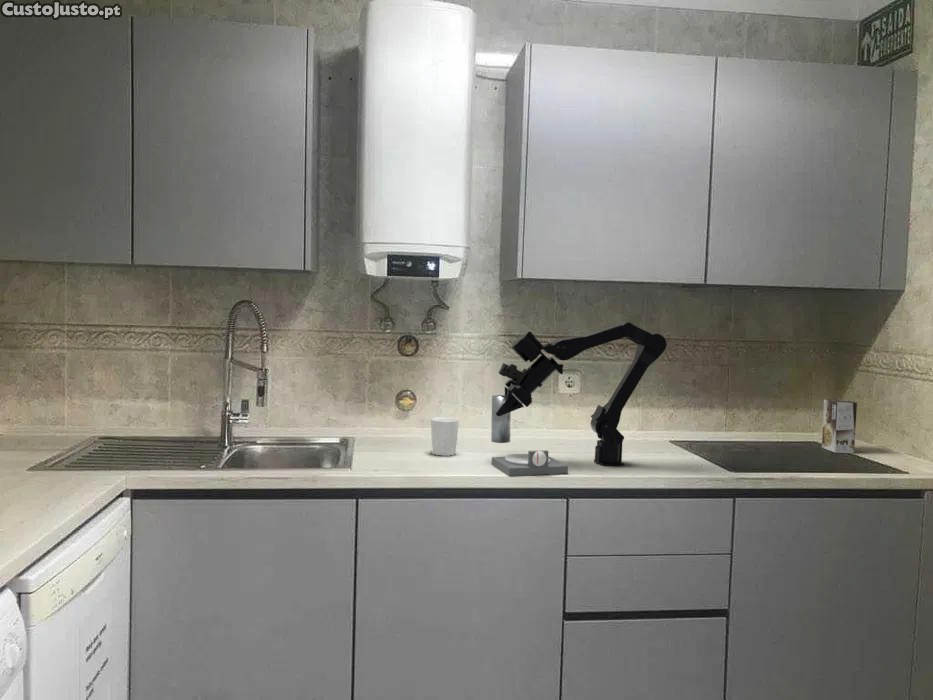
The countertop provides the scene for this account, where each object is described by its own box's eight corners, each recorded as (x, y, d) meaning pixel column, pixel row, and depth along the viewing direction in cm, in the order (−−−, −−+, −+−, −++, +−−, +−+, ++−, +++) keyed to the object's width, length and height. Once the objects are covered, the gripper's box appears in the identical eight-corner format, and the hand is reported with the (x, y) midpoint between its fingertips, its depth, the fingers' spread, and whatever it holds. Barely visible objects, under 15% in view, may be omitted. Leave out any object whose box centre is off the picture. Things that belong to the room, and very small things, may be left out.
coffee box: (855, 453, 228) (858, 402, 227) (834, 453, 228) (837, 401, 227) (840, 448, 237) (843, 398, 236) (820, 447, 237) (823, 398, 236)
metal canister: (505, 439, 204) (506, 394, 203) (513, 442, 199) (513, 396, 198) (488, 439, 202) (489, 394, 202) (495, 443, 198) (496, 397, 197)
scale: (546, 462, 201) (547, 440, 201) (567, 473, 188) (568, 450, 187) (491, 464, 197) (492, 442, 196) (509, 476, 183) (510, 452, 183)
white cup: (433, 457, 204) (434, 421, 204) (427, 451, 212) (428, 417, 212) (460, 456, 207) (461, 421, 206) (453, 450, 214) (454, 417, 214)
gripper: (513, 351, 209) (474, 389, 209) (520, 355, 190) (477, 397, 190) (539, 378, 210) (501, 416, 210) (549, 385, 191) (507, 427, 191)
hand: (496, 413), depth 200 cm, fingers closed on metal canister, 5 cm apart
